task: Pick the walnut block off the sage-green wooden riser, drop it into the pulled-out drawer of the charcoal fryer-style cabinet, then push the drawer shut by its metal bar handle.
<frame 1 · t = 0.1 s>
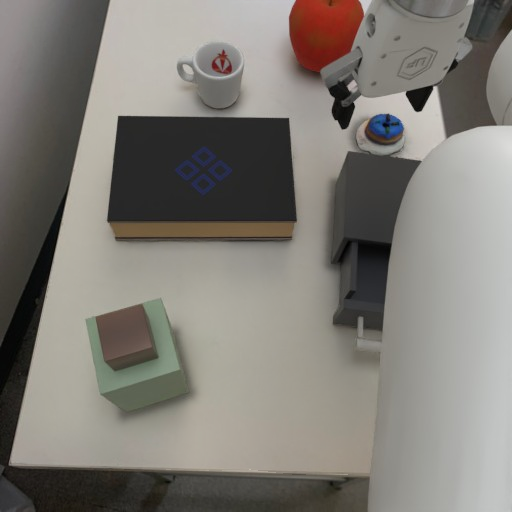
hand: (376, 111, 59), 18 cm above the table, tool pointing down, fingers open, 9 cm apart
block: (131, 343, 50), point 14 cm above the table, touching riser
dessert: (378, 138, 81), on the table
apple: (317, 63, 87), on the table
drawer: (378, 291, 65), point 4 cm above the table, slide at 8.0 cm
riser: (150, 371, 63), on the table
book: (205, 191, 75), on the table
cup: (210, 95, 82), on the table
cabinet: (371, 227, 73), on the table
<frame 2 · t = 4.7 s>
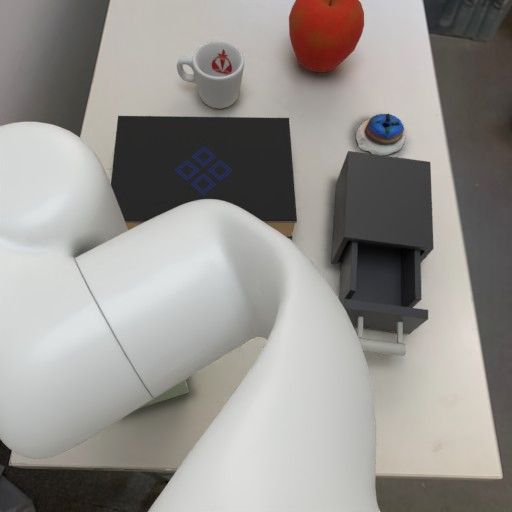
hand: (131, 342, 50), 14 cm above the table, tool pointing down, fingers closed on block, 4 cm apart
block: (131, 343, 50), point 14 cm above the table, touching gripper, riser
everything else where it was.
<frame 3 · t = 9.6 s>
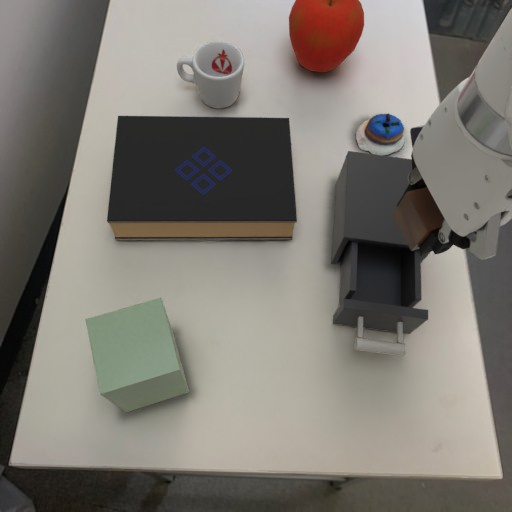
hand: (421, 225, 51), 20 cm above the table, tool pointing down, fingers closed on block, 4 cm apart
block: (420, 227, 51), point 20 cm above the table, touching gripper
everything else where it was.
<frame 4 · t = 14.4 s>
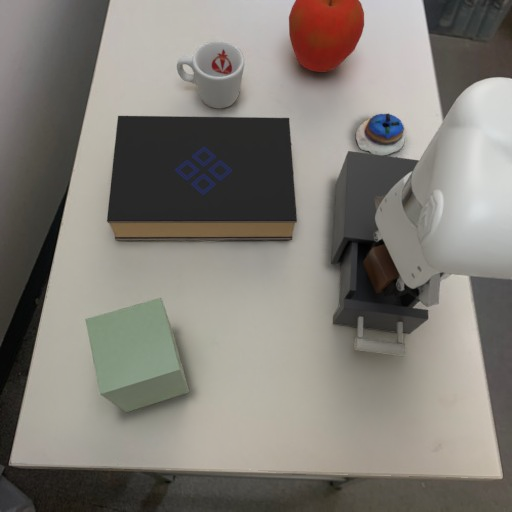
hand: (386, 272, 62), 8 cm above the table, tool pointing down, fingers closed on block, 4 cm apart
block: (385, 273, 63), point 7 cm above the table, touching gripper
everything else where it was.
when the fingers open (10 cm above the table, at t = 23.9 s): block drops 8 cm, resting on drawer.
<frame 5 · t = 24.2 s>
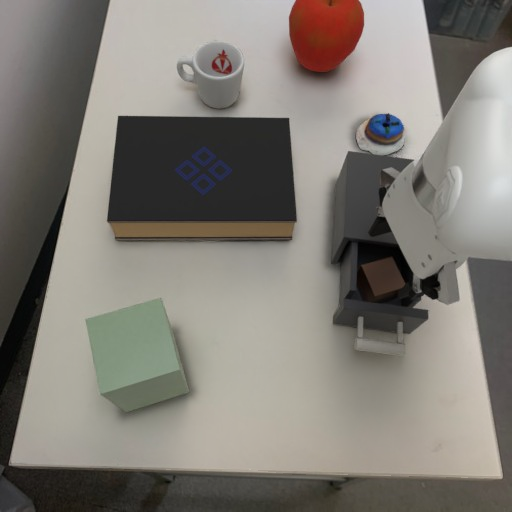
hand: (394, 261, 59), 11 cm above the table, tool pointing down, fingers open, 7 cm apart
block: (374, 288, 67), point 2 cm above the table, touching drawer
drawer: (378, 291, 65), point 4 cm above the table, slide at 8.0 cm, touching block
everything else where it was.
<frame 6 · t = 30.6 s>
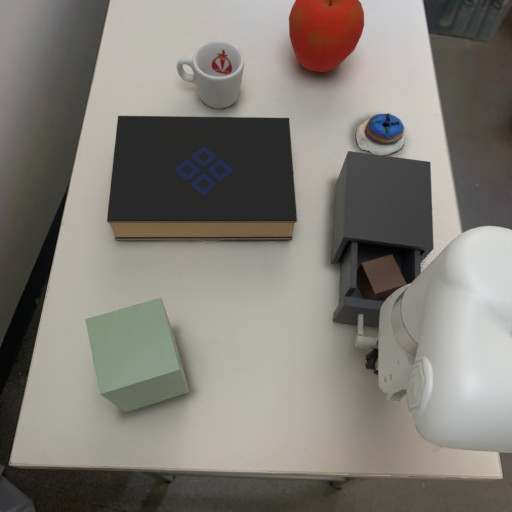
hand: (377, 364, 60), 4 cm above the table, tool pointing down, fingers closed
drawer: (378, 289, 65), point 4 cm above the table, slide at 7.7 cm, touching block, gripper
everything else where it was.
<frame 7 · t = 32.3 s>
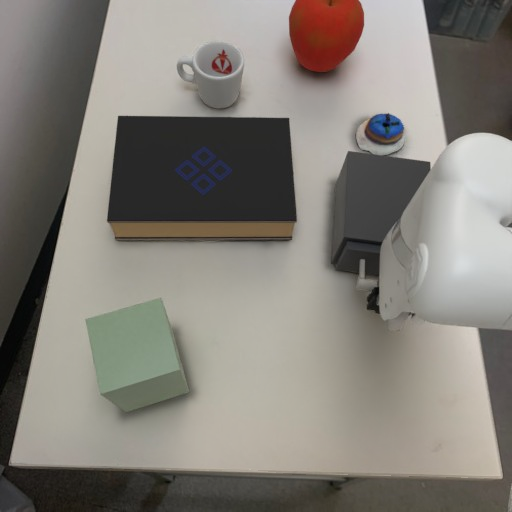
hand: (378, 305, 64), 4 cm above the table, tool pointing down, fingers closed
block: (375, 236, 71), point 2 cm above the table, touching drawer
drawer: (379, 237, 68), point 4 cm above the table, slide at 0.0 cm, touching block, cabinet, gripper
everything else where it was.
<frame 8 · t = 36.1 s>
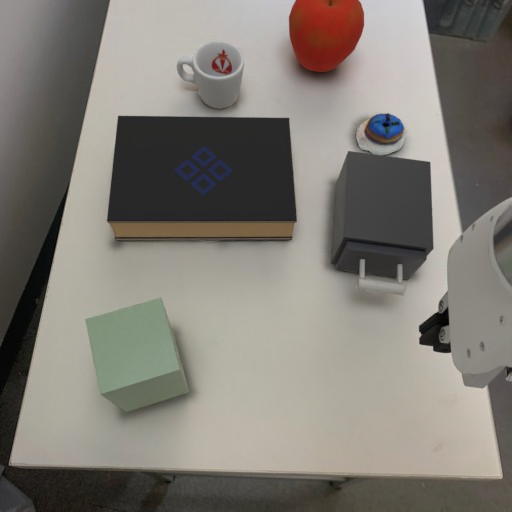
hand: (436, 337, 43), 23 cm above the table, tool pointing down, fingers closed
drawer: (379, 237, 68), point 4 cm above the table, slide at 0.0 cm, touching block, cabinet
everything else where it was.
at the end: block inside the target area in the cabinet (2.5 cm from its centre), point 2.0 cm above the cabinet's base; drawer slide at 0.0 cm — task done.
